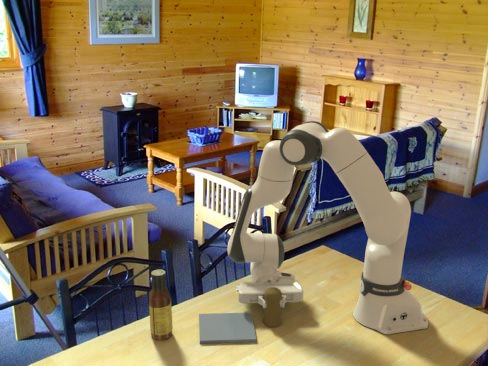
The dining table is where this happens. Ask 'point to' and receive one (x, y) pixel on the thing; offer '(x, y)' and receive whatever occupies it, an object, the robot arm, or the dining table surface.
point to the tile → (226, 328)
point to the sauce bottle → (160, 307)
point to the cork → (272, 308)
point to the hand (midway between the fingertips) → (274, 306)
